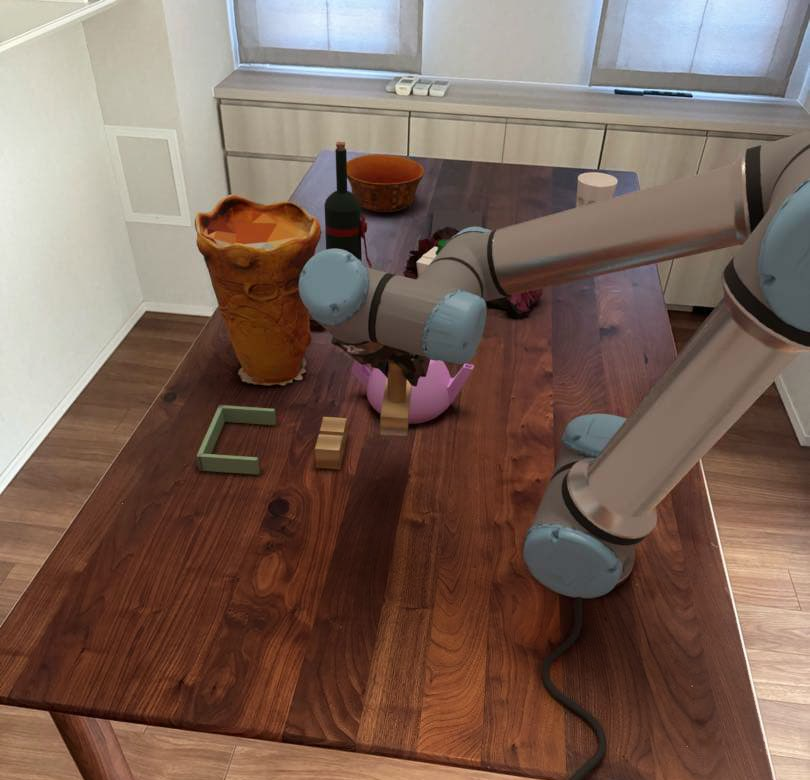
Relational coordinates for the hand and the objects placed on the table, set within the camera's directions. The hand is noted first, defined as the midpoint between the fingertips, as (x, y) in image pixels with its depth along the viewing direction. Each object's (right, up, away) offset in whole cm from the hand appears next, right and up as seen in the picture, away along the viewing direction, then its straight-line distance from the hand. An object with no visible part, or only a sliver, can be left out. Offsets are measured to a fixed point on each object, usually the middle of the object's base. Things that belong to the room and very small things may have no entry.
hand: (405, 375), depth 120 cm
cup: (+49, +60, +90) cm, 119 cm away
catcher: (-28, -9, +15) cm, 33 cm away
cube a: (-13, -12, +12) cm, 21 cm away
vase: (-26, +7, +31) cm, 41 cm away
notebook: (+13, +53, +81) cm, 98 cm away
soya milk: (+7, +15, +41) cm, 44 cm away
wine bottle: (-12, +32, +58) cm, 68 cm away
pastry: (-20, +22, +48) cm, 56 cm away
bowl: (-6, +64, +92) cm, 112 cm away
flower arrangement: (+15, +29, +56) cm, 65 cm away
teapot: (+1, 0, +25) cm, 25 cm away
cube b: (-12, -8, +16) cm, 22 cm away
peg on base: (-1, -6, +1) cm, 6 cm away
